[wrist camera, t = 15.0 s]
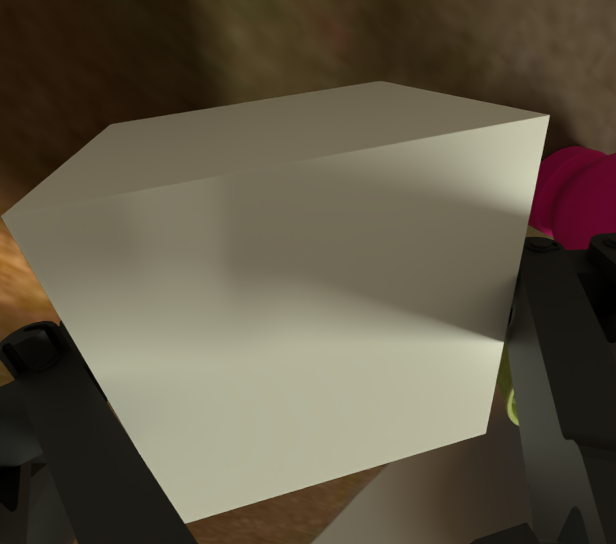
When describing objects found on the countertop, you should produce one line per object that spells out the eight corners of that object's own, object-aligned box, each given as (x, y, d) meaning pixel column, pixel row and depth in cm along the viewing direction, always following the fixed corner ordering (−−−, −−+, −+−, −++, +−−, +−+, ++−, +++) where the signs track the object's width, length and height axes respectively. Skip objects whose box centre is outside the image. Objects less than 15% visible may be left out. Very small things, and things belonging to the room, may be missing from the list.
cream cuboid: (190, 339, 19) (181, 524, 12) (110, 124, 14) (1, 216, 6) (383, 292, 20) (485, 433, 13) (380, 80, 15) (549, 114, 8)
